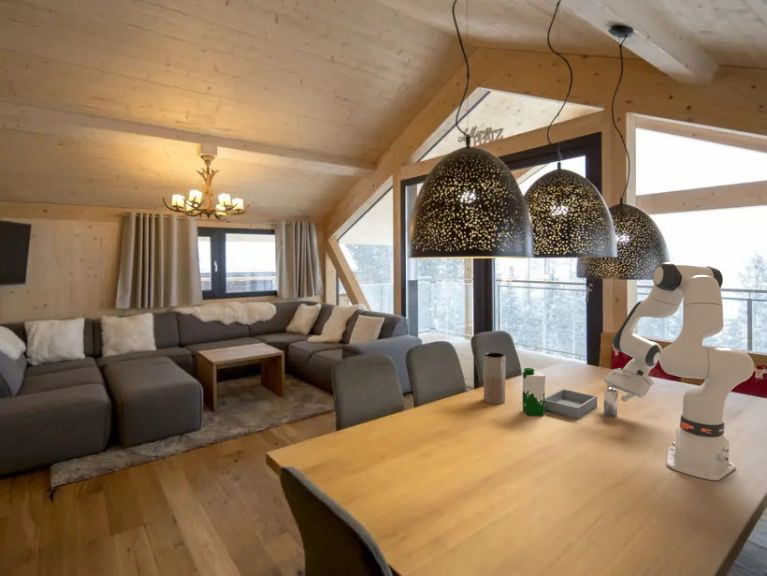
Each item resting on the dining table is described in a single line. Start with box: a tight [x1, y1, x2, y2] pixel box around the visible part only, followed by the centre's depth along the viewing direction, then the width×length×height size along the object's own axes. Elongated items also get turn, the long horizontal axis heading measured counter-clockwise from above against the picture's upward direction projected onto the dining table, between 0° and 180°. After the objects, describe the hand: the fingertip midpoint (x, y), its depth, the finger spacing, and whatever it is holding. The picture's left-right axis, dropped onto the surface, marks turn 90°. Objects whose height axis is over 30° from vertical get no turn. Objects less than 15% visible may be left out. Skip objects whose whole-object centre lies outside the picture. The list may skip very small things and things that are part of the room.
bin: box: [544, 388, 598, 420], centre depth 197 cm, size 22×16×5 cm
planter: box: [483, 352, 507, 405], centre depth 208 cm, size 10×10×23 cm
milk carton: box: [522, 367, 546, 417], centre depth 191 cm, size 9×9×20 cm
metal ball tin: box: [603, 387, 619, 419], centre depth 188 cm, size 5×5×12 cm
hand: (614, 396), depth 189 cm, fingers open, 8 cm apart
